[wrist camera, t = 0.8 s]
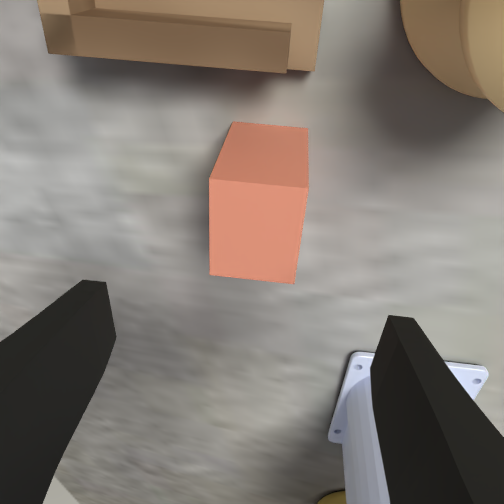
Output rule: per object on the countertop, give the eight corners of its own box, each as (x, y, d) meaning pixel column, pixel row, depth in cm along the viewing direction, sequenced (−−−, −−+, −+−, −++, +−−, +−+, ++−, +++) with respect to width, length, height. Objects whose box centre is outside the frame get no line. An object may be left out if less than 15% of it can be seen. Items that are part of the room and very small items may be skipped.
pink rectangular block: (296, 210, 20) (293, 284, 16) (230, 203, 20) (209, 274, 16) (308, 128, 18) (308, 188, 13) (232, 121, 18) (209, 178, 13)
